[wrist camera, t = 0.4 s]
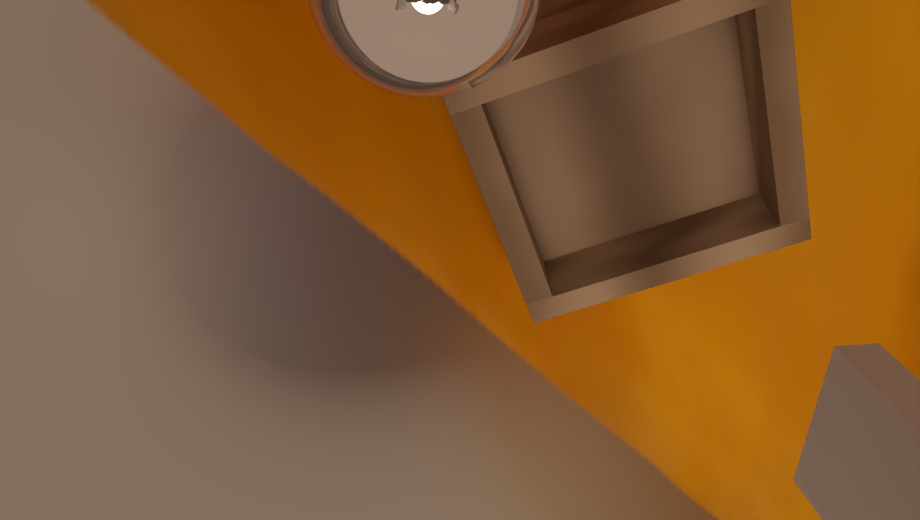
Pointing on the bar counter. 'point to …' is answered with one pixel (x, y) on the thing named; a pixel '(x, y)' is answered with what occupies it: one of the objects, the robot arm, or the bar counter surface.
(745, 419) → the bar counter surface
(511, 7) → the light bulb
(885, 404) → the robot arm
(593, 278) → the walnut box
